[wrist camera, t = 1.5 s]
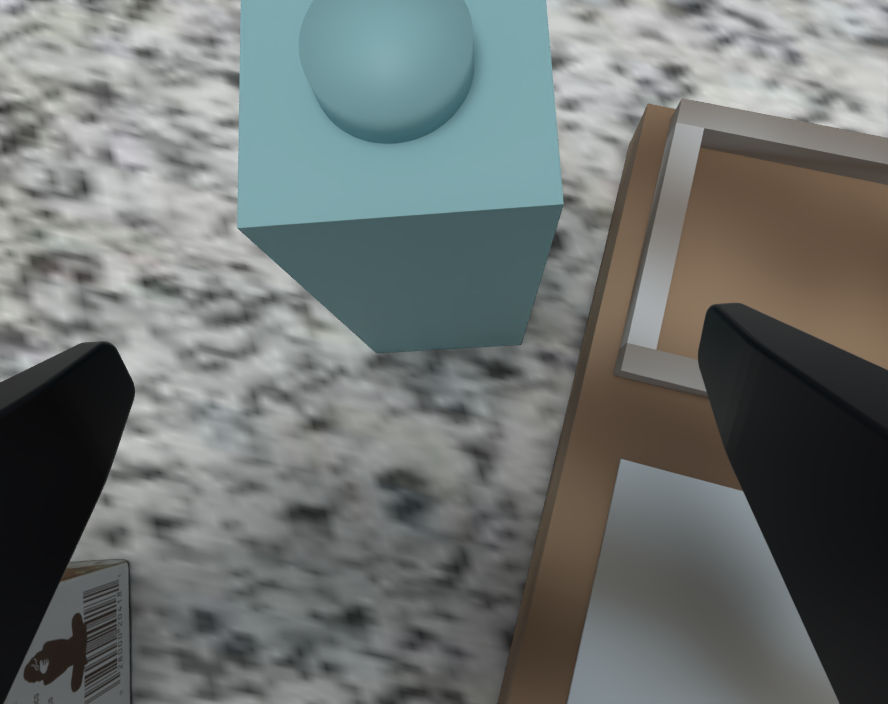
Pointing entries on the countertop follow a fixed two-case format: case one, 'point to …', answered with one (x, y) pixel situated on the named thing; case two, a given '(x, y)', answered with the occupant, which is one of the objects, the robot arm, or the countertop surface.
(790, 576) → the robot arm
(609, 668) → the walnut base plate
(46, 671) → the coffee box
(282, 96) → the teal pillar
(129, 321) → the countertop surface
